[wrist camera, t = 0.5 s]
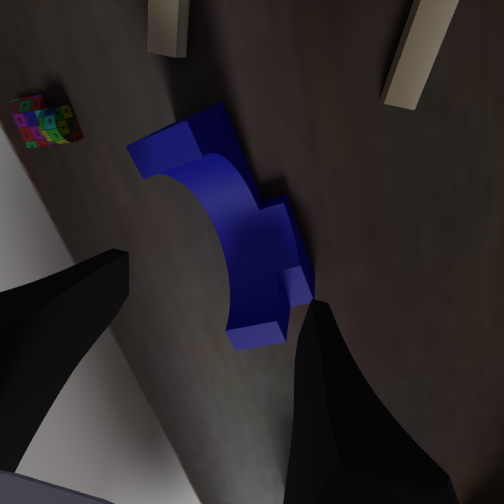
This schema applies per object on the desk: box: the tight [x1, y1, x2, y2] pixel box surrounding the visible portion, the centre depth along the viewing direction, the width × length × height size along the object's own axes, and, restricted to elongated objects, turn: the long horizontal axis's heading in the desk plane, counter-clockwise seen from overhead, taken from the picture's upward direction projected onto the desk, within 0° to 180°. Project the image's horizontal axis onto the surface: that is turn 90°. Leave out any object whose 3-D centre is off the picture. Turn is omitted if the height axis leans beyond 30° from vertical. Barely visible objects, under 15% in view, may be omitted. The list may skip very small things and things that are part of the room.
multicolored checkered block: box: [9, 94, 84, 148], centre depth 20 cm, size 4×3×2 cm, turn 99°
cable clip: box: [126, 102, 315, 350], centre depth 19 cm, size 12×4×6 cm, turn 22°
